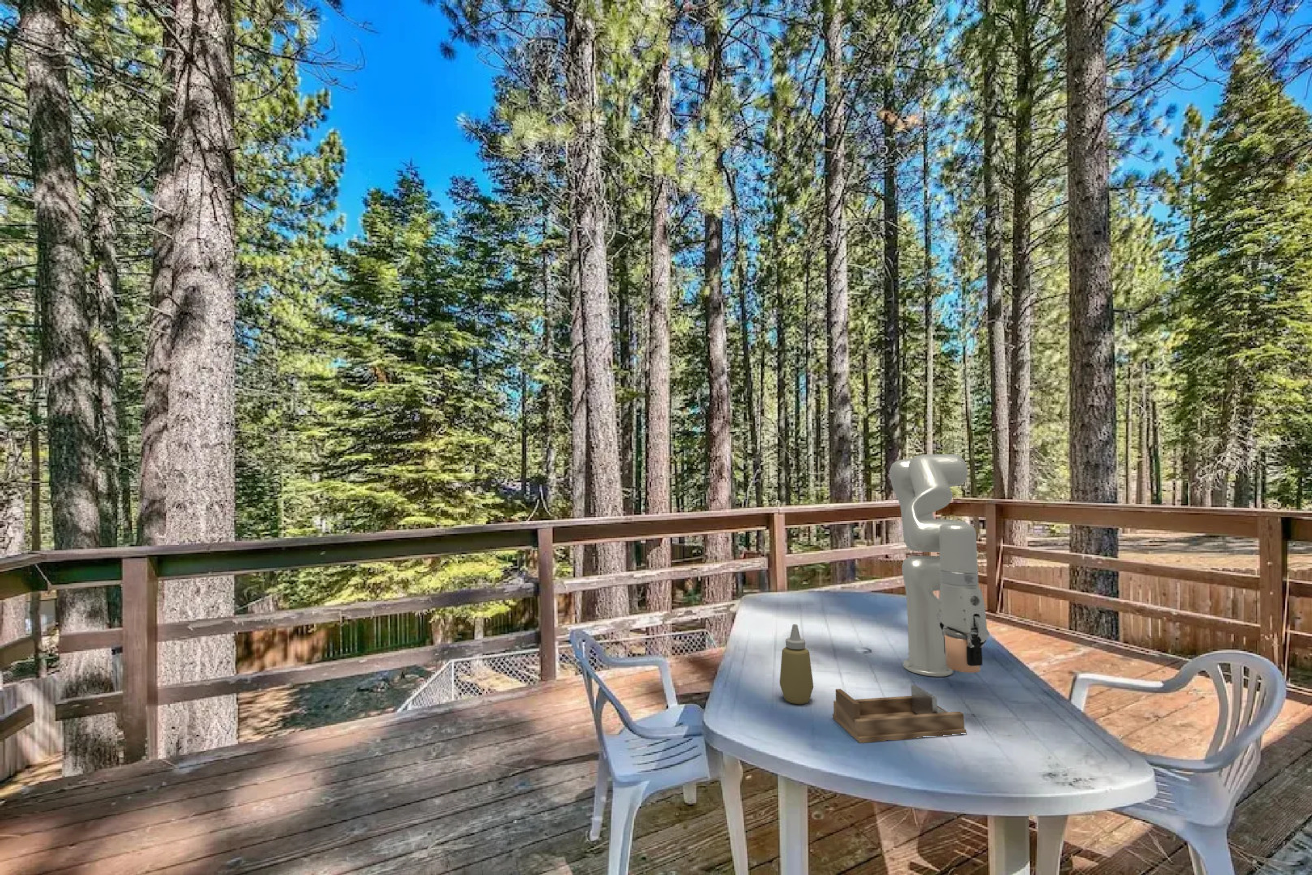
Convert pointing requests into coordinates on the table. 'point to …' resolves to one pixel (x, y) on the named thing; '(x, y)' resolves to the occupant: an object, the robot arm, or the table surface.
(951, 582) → the robot arm
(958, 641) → the jar
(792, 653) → the squeeze bottle
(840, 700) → the wooden tray
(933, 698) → the plate
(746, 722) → the table surface
